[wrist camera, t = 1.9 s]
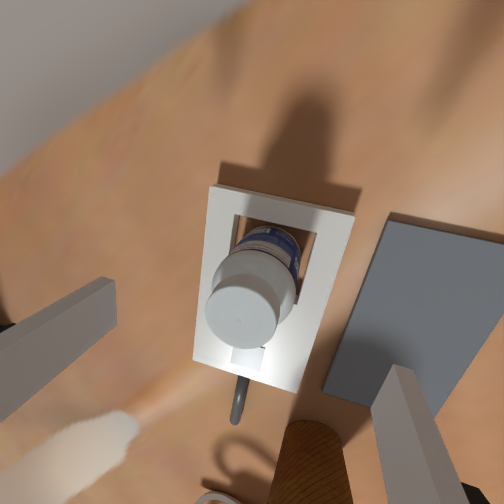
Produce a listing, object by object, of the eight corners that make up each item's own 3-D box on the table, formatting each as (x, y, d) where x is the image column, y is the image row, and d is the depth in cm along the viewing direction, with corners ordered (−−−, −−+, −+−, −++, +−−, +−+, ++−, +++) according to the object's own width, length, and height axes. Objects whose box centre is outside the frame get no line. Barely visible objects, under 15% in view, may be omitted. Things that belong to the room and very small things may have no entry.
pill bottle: (285, 291, 23) (266, 375, 14) (232, 265, 24) (181, 333, 15) (312, 240, 21) (309, 303, 12) (253, 213, 21) (209, 255, 13)
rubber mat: (322, 388, 26) (322, 392, 26) (386, 219, 19) (388, 220, 19) (426, 421, 25) (428, 426, 24) (537, 250, 18) (543, 253, 17)
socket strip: (280, 433, 30) (278, 448, 28) (193, 402, 32) (186, 415, 30) (352, 211, 20) (355, 217, 18) (216, 183, 21) (209, 185, 20)
